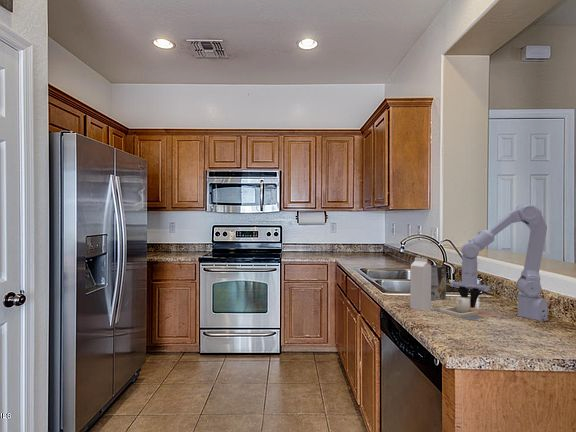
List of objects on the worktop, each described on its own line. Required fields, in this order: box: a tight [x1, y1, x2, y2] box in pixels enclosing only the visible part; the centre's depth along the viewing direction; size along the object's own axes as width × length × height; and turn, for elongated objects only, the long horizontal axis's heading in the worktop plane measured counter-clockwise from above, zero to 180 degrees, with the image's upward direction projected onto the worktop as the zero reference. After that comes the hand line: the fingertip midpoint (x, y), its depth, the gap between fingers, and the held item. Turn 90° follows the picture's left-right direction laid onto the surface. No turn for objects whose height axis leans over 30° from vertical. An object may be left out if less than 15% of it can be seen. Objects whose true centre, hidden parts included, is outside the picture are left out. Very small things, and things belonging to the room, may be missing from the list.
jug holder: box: [432, 305, 502, 321], centre depth 156 cm, size 18×19×2 cm
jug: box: [455, 296, 471, 314], centre depth 155 cm, size 10×5×6 cm, turn 128°
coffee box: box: [430, 264, 447, 302], centre depth 184 cm, size 9×6×16 cm
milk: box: [409, 257, 432, 312], centre depth 163 cm, size 6×6×22 cm
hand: (469, 306), depth 157 cm, fingers closed on jug, 2 cm apart
